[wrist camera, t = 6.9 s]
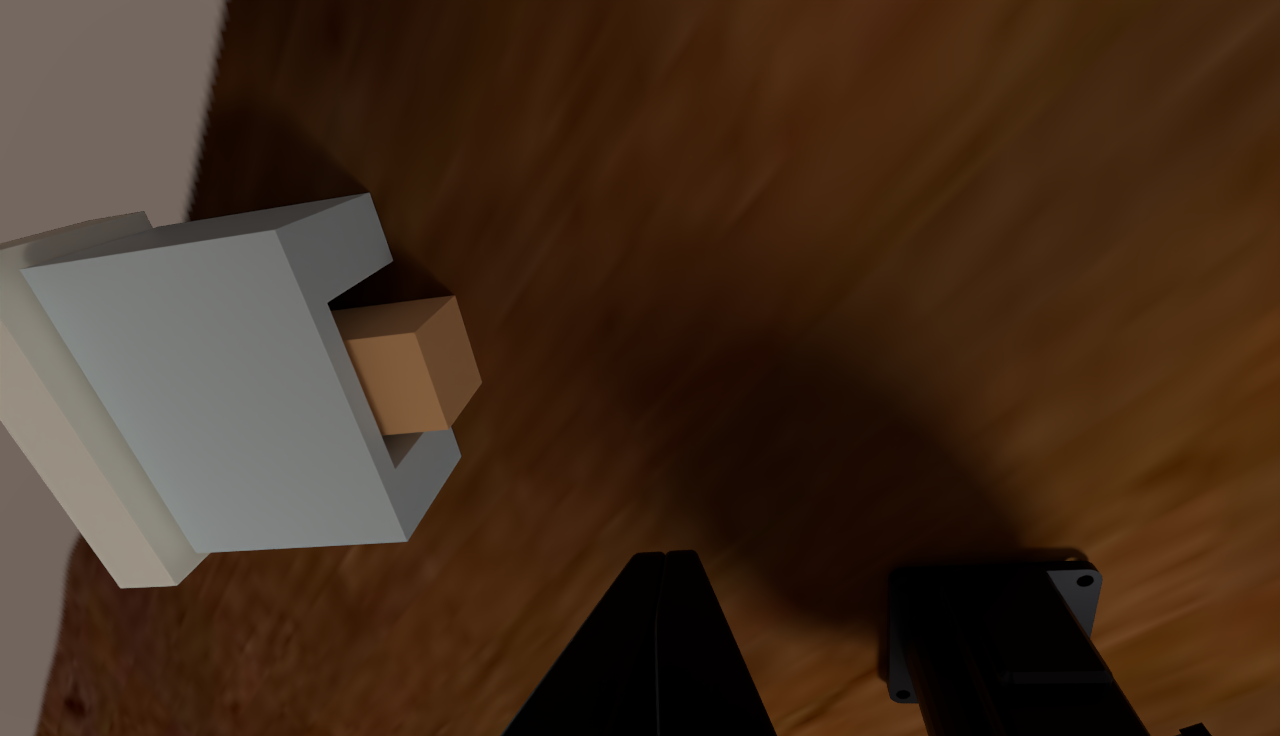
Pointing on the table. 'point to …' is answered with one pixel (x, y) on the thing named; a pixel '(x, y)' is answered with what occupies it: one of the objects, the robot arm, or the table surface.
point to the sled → (246, 376)
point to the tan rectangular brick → (411, 362)
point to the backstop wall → (81, 422)
